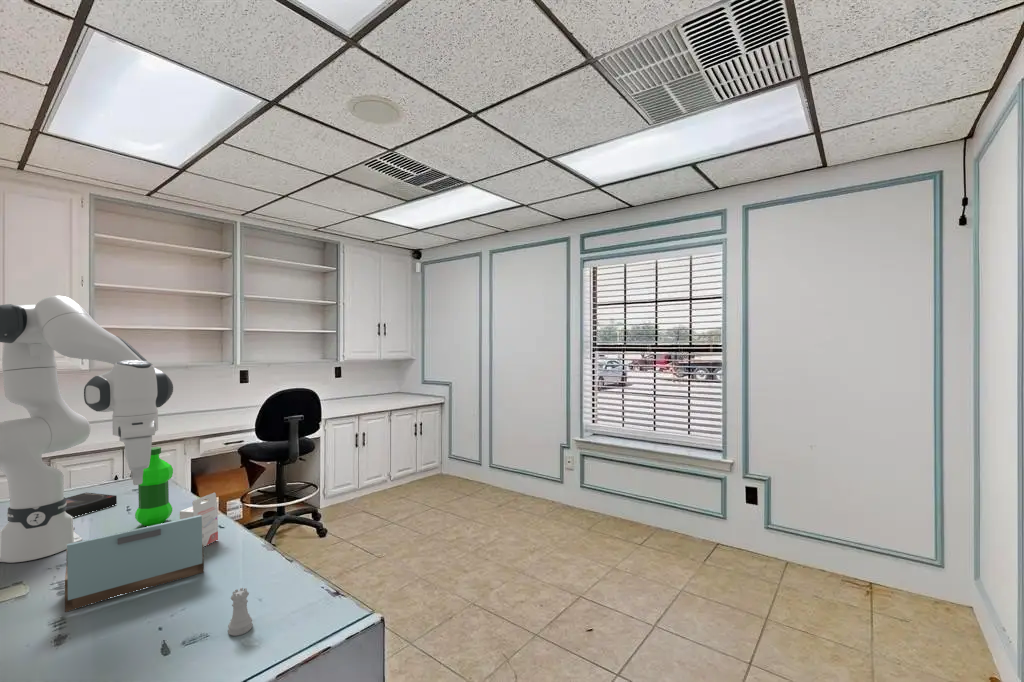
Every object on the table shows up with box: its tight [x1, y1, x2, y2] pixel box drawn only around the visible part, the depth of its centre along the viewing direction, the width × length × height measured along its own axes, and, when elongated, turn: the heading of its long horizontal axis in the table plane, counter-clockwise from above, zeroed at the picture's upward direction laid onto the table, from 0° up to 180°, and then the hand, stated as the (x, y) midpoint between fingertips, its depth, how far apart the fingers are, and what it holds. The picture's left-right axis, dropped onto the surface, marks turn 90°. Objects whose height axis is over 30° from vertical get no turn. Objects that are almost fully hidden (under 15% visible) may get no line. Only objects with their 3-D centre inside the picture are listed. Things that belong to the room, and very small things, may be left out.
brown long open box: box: [64, 544, 205, 613], centre depth 117 cm, size 12×26×10 cm, turn 132°
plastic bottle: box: [134, 446, 174, 527], centre depth 156 cm, size 10×10×25 cm
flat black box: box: [65, 492, 118, 517], centre depth 170 cm, size 16×17×4 cm
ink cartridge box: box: [179, 492, 219, 548], centre depth 138 cm, size 9×5×15 cm, turn 168°
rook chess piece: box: [227, 587, 254, 637], centre depth 96 cm, size 4×4×8 cm
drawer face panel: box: [66, 515, 202, 600], centre depth 112 cm, size 2×25×12 cm, turn 132°
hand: (136, 481), depth 117 cm, fingers open, 5 cm apart
